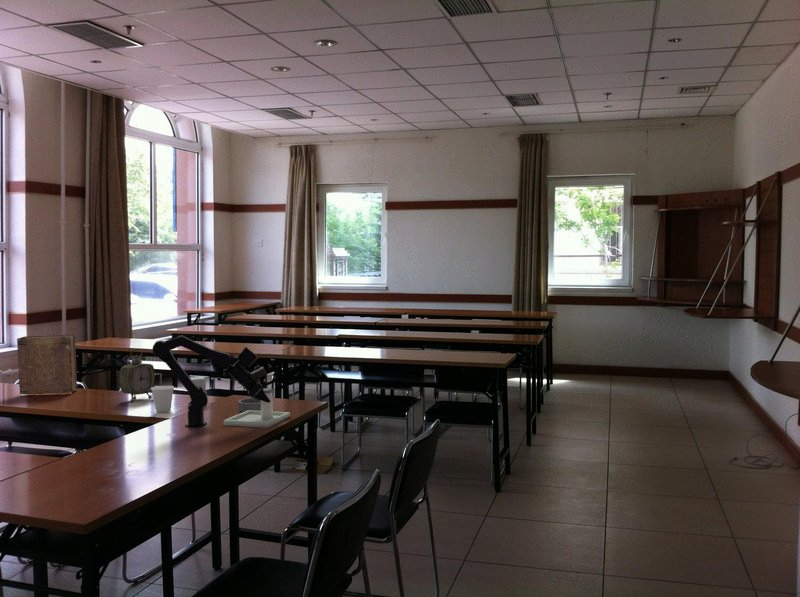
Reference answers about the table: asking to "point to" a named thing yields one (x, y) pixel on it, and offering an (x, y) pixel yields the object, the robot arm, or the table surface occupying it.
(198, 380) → the supplement box
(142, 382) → the tabletop clock
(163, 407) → the cup
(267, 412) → the canister
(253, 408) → the collar
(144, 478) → the table surface
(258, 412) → the tray
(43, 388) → the book
